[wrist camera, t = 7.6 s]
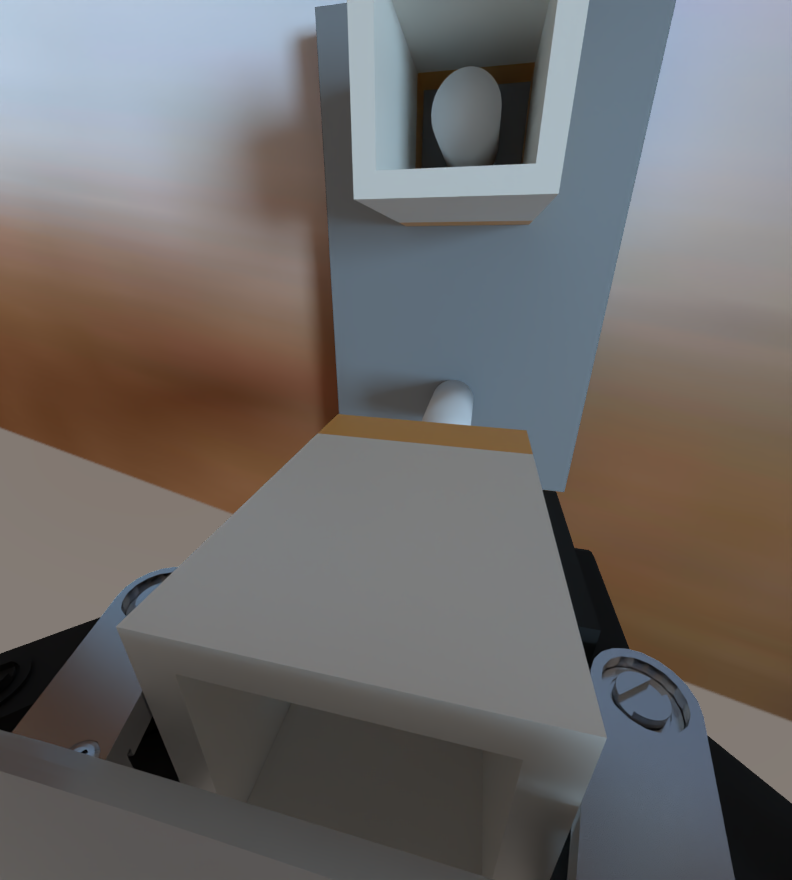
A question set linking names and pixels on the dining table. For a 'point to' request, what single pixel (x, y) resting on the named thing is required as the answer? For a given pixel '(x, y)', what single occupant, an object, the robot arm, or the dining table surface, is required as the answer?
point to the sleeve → (384, 649)
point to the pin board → (490, 246)
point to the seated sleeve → (425, 68)
